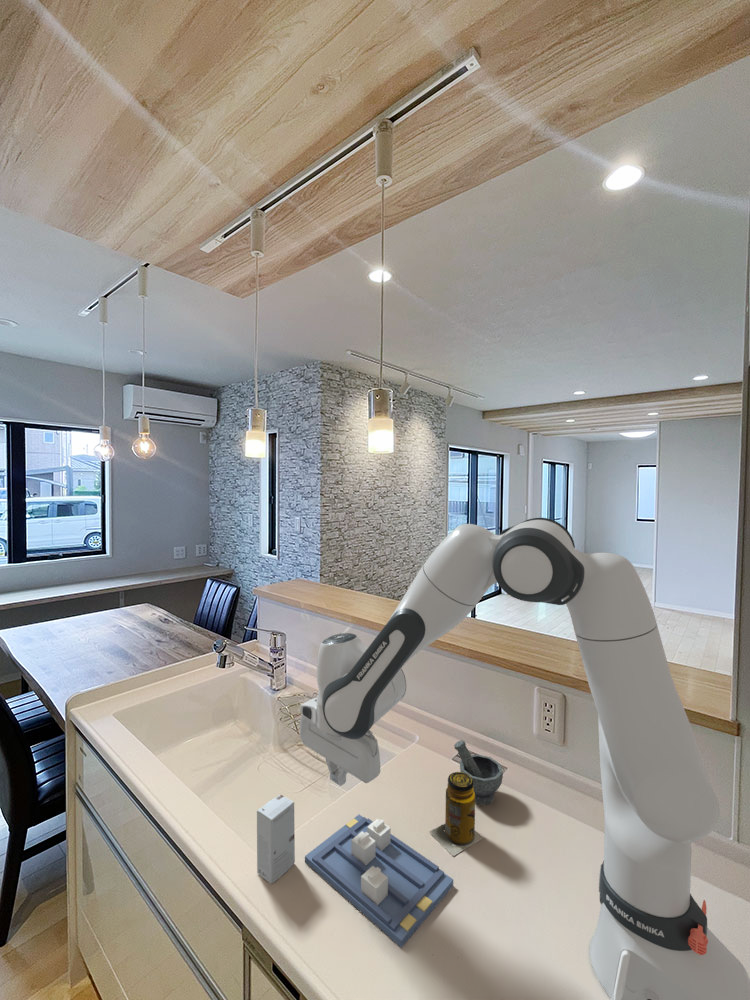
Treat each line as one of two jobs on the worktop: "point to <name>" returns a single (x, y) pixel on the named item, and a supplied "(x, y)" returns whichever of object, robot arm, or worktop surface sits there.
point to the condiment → (458, 815)
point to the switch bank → (408, 876)
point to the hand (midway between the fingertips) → (337, 781)
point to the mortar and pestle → (480, 773)
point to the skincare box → (275, 838)
